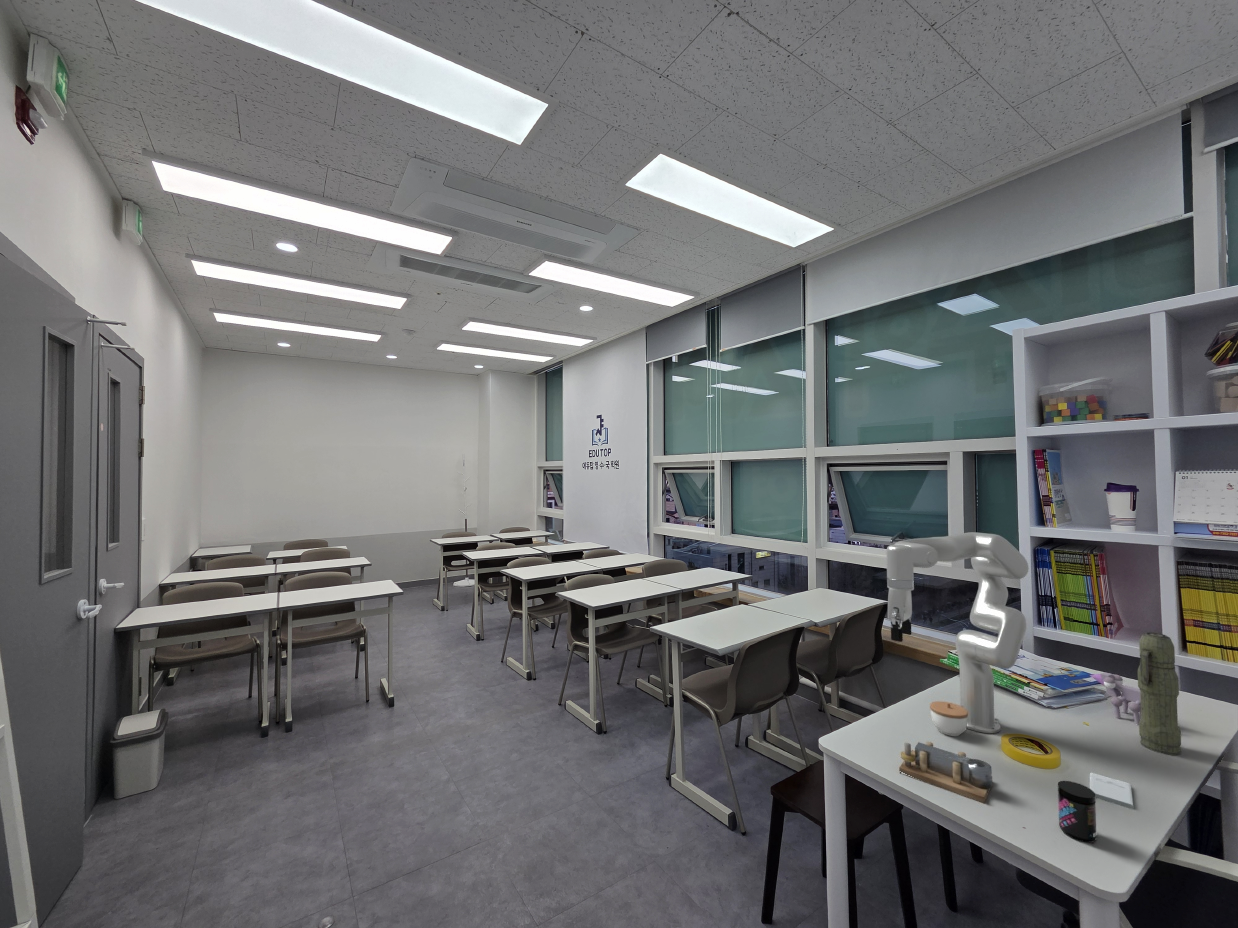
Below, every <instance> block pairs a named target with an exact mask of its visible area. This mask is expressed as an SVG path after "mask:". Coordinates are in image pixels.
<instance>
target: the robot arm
mask: <svg viewBox="0 0 1238 928" xmlns="http://www.w3.org/2000/svg"><path fill="white" fill-rule="evenodd" d="M967 559H970V563H971V566H972V569H973V571H974V573H975V575H976V578H977V581H978V589H977V592H976V595H975V597H974V601H973V604H972V607H971V610H970V613H969V620H970V623H971V625H973V626H974V627H976V628H978V629H981V630H984V631H987V632H991V633H995V634H997V636H995V635H991V634H988V633H985V632H981V631H977V630H975V629H974V630H973V629H963V630H961V631H959V632H958V633H957V634H956V637H955V639H954V641H955V649H956V653H957V656H958V665H959V697H960V698H959V699H960V700H959V701H960V704H959V706H962V707H963V708H965V709H966V710H967V711H968V722H967V727H966V729H968V730H971V731H974V732H977V733H978V732H979V733H984V734H996V733H998V732H1000V731H1001V725H1000V723H999V722H998V721H996V720H995V691H994V690H995V686H994V682H995V681H994V680H995V679H994V673H993V670H992V667H995V668H999V669H1002V670H1009V669H1011V668H1012V667H1013V666H1014V665H1015V664H1016V661H1017V660H1018V657H1019V654H1020V650H1021V648H1022V645H1023V640H1024V638H1025V635H1026V630H1027V619H1026V617H1025V615H1024V613H1023V612H1022V611H1020V610H1018V609H1016V608H1014V607H1011V606H1006V604H1007V602H1008V599H1009V598H1008V597H1009V591H1008V587H1007V585H1006V584H1005V582H1004V580H1003V579H1004V578H1005V579H1011V580H1021V579H1024V578H1025V577H1026V576H1027V575H1028V573H1029V569H1030V568H1029V563H1028V561H1027V559H1026V557H1025V556H1024V555H1023V554H1022V553H1021V552H1020V551H1019V550H1018V549H1017V548H1016V547H1015V546H1014V545H1013V544H1012V543H1010V542H1009V541H1008V540H1007V539H1006V538H1005V537H1003V536H1001V535H999V534H995V533H985V532H975V531H971V532H964V533H963V532H962V533H959V534H952V535H946V536H932V537H920V538H919V537H917V538H909V539H904V540H899V541H896V542H895V543H894V544H890V545H888V546H887V548H886V583H887V584H886V585H887V588H888V596H887V619H888V620H890V640H891V641H894V642H898V643H899V642H900V643H901V642H904V639H903V638H904V637H903V636H904V635H908V636H910V635H912V616H913V615H912V614H913V602H912V591H914V590H915V585H914V584H915V583H914V582H915V581H914V580H915V579H914V578H915V577H914V575H915V573H914V568H922V569H929V568H932V567H934V566H935V565H937V563H938V562H943V563H944V562H946V563H948V562H957V561H958V562H959V561H962V560H967ZM1002 578H1003V579H1002ZM991 666H992V667H991Z"/></svg>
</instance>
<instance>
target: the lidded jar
mask: <svg viewBox="0 0 1238 928" xmlns="http://www.w3.org/2000/svg"><path fill="white" fill-rule="evenodd" d="M929 710H930V712H929V713H930V718H931V720H932V723H933V724H934V726H935V728H936V729H938V732H940V733H941V732H942V734H944V735H946V736H949V737H950V736H951V737H958V736H960V735H961V734H963V733H964V732H965V731H966V730H967V728H966V727H967V722H968V711H967V710H966V709H965V708H963V707H962V706H960V704H959V705H958V704H956V703H953V702H949V701H943V700H941V701H940V700H938V701H932V702H931V703H930V704H929Z"/></svg>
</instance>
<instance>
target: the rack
mask: <svg viewBox="0 0 1238 928" xmlns="http://www.w3.org/2000/svg"><path fill="white" fill-rule="evenodd" d="M925 744H926V745H929V746H932V747H934V743H933V742H932V741H926V742H925ZM903 745H904V750H902V751H901V752H900V758H901V760H903V762H902V763H901V764H900V766H899V767H898V768H899V770H898V771H901V772H903V773H905V774H907V775H910V776H912V777H914V778H913V779H915V778H917V779H916V780H918V779H919V781H921V780H922V782H925V783H927V784H930V785H932V786H936V787H938V788H941V789H943V790H946V791H949V792H952V793H954V794H957V795H959V796H963V797H966V798H968V799H971V800H974V801H976V802H980V803H981V804H985V803H986V800H987V797H988V794H989V792H990V789H981V788H977V787H975V786H973V785H971V784H970V783H967V782H964V781H961V766H960V763H958V762H953V778H952V777H949V776H946V775H943V774H941V773H938V772H935V771H932V770H929V769H927V753H926V752H923V751H920V766H917V765H915V749H912V745H911V743H908V742H904V744H903ZM957 754H958V755H961V756H964V757H967V754H966V753H965V752H963V751H958V752H957ZM907 775H906V776H907ZM910 776H909V777H910ZM912 777H911V778H912Z"/></svg>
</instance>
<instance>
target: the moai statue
mask: <svg viewBox="0 0 1238 928" xmlns="http://www.w3.org/2000/svg"><path fill="white" fill-rule="evenodd" d="M1138 643H1139V665H1138V668H1137V687H1138V689H1140V696H1141V718H1140V721H1139V725H1138V730H1139V731H1138V733H1139V737H1140V741H1139V742H1140V744H1141V746H1142V747H1144V748H1146V749H1148V750H1151V751H1152V752H1156V753H1160V754H1164V755H1168V756H1180V755H1181V754H1182V753H1181V746H1182V732H1181V729H1180V727H1179V720H1178V717H1179V716H1178V697H1179V695H1180V691H1179V690H1180V687H1179V686H1180V683H1179V681H1180V680H1179V676H1178V674H1177V671H1176V666H1175V663H1176V658H1175V657H1176V654H1175V653H1176V652H1175V645H1174V643H1173V641H1172V638H1171V637H1169V636H1168V635H1166V634H1162V633H1158V632H1151V631H1149V632H1148V631H1147V632H1144V633H1142V635H1141V637H1140V638H1139V642H1138Z"/></svg>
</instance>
